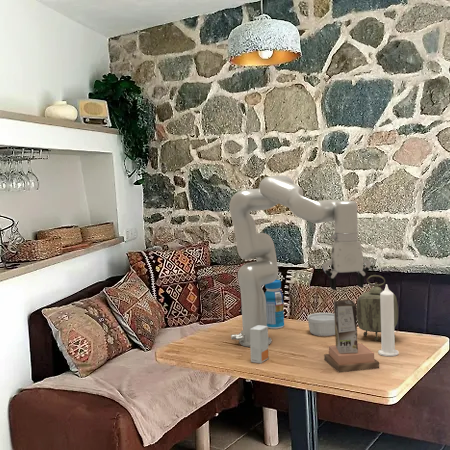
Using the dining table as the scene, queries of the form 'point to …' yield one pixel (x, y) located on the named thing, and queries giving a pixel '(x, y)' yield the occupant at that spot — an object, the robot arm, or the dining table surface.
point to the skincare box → (259, 344)
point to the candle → (387, 323)
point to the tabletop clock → (372, 309)
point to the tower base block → (350, 365)
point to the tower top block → (352, 355)
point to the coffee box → (345, 326)
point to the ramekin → (321, 324)
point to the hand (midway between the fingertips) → (346, 288)
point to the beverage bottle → (274, 305)
